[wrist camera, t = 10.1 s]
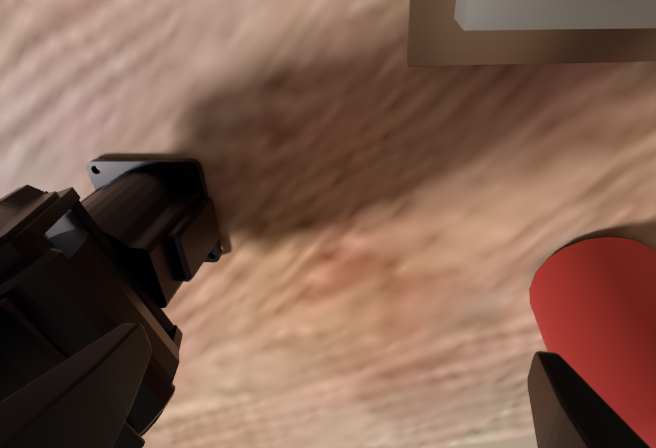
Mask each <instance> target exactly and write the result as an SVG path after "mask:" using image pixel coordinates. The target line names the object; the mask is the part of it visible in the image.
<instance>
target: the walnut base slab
mask: <svg viewBox="0 0 656 448" xmlns="http://www.w3.org/2000/svg"><path fill="white" fill-rule="evenodd" d="M455 5H456V0H410V4H409V27H408V50H407V61H408V67H414V66H458V65H503V64H547V63H592V62H636V61H656V28H630V29H549V30H468V31H464V30H463V29H462V28H461V26H460V25H459V24H458V23H457V21H456V20H455V19H454V14H455Z"/></svg>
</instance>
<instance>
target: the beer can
mask: <svg viewBox="0 0 656 448" xmlns="http://www.w3.org/2000/svg"><path fill="white" fill-rule="evenodd" d="M529 290H530V304H531V307H532V310H533V313H534V315H535V318H536V321H537V323H538V326H539V329H540V332H541V334H542V337H543V340H544V343H545V345H546V348H547V351H548V352H555V353H557V354H559V355H560V356H561V357H562V358H563V359H564V360H565V361H566V362H567V363H568V364H569V365H570V366H571V367H572V368H573V369H574V370H575V371H576V372H577V373H578V374H579V375H580V376H581V377H582V378H583V379H584V380H585V381H586V382H587V383H588V384H589V385H590V386H591V387H592V388H593V389H594V390H595V391H596V392H597V394H598V395H599V396H600V397H601V398H602V399H603V400H604V401H605V402H606V403H607V404H608V405H609V406H610V407H611V408H612V409H613V410H614V411H615V412H616V413H617V414H618V415H619V416H620V417H621V418H622V419H623V420H624V421H625V422H626V423H627V424H628V425H629V426H630V427H631V428H632V429H633V430H634V431H635V432H636V433H637V434H638V435H639V436H640V437H641V438H642V439H643V440H644V441H645V442H646V443H647V444H648V445H649V446H650V448H656V251H655V250H654V249H653V248H651V247H649V246H646V245H644V244H641V243H639V242H637V241H634V240H631V239H624V238H615V237H603V238H595V239H587V240H584V241H581V242H578V243H575V244H572V245H570V246H567V247H565V248H563V249H562V250H560V251H559V252H557V253H555V254H554V255H552V256H551V257H549V258H548V259H547V260H546V261H545V262H544V263H543V265H542V266H541V267H540V268H539V269H538V270H537V271H536V273H535V276H534V278H533V281H532V283H531V286H530V289H529Z"/></svg>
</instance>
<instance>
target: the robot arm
mask: <svg viewBox="0 0 656 448" xmlns="http://www.w3.org/2000/svg"><path fill="white" fill-rule="evenodd" d="M96 166H97V167H98V168H99V169H100V171H99V170H98V169H97V168H96ZM188 166H191V167H192V168H193V169H194V172H193V171H191V170H189V168H188ZM87 170H88V173H89V175H90V178H91V180H92V183H93V185H94V188H95V190H96V191H94V192H93V193H92V194H90V195H89V196H88V197H86V198H85V199H84V200H82V201H81V202H80V201H79V199H80V196H79V195H78V194H77V192H76V191H75V190H74V188H73V187H70V188H68V189H65V190H62V191H60V192H56V191H54V192H51V193H48V192H47V191H45V192H44V191H41V190H39V189H36V188H34V187H32V186H29V185H26V186H23V187H21V188H18V189H16V190H15V191H13V192H11V193H10V194H8V195H6V196H5V197H3V198H1V199H0V448H142V447H143V446H144V444H145V440H144V439H143V438H142V437H141V436H142V435H144V434H145V433H146V432H147V431H148V430H149V429H150V428H151V427H152V425H153V424H154V423H155V422H156V421H157V419H158V418H159V417H160V415H161V414H162V412H163V410H164V409H165V407H166V406H167V404H168V402H169V401H170V399H171V398H172V396H173V394H174V391H175V386H174V385H173V379H174V376H175V373H176V370H177V367H178V364H179V349H180V344H181V339H182V332H181V331H180V329H179V328H178V327H177V326H176V325H173V324H172V322H171V321H170V320H169V318H168V317H167V316H166V314H165V313H164V312H163V311H162V309H161V308H165V307H166V306H167V305H168V303H169V302H170V300H171V299H172V298H173V296H174V295H175V293H176V292H177V290H178V289H179V287H180V286H181V284H182V283H183V281H185V282H189V281H190V280H191V279H192V278H193V277H194V276H195V274H196V273H197V271H198V269H199V268H200V266H201V265H202V263H203V262H217V261H218V260H219V259H220V257H221V255H222V250H221V246H220V242H219V238H220V231H219V227H218V223H217V219H216V214H215V210H214V206H213V202H212V199H211V198H210V197H209V196H208V192H207V188H206V183H205V179H204V175H203V171H202V167H201V165H200V163H199V162H198V161H196V160H195V159H94V160H92V161H91V162H89V163H88V164H87ZM211 252H213V253H214V254H215V255H213V254H211ZM528 391H529V397H530V403H531V409H532V415H533V421H534V427H535V433H536V439H537V445H538V448H650V446H649V445H648V444H647V443H646V442H645V441H644V440H643V439H642V438H641V437H640V436H639V435H638V434H637V433H636V432H635V431H634V430H633V429H632V428H631V427H630V426H629V425H628V424H627V423H626V422H625V421H624V420H623V419H622V418H621V417H620V416H619V415H618V414H617V413H616V412H615V411H614V410H613V409H612V408H611V407H610V406H609V405H608V404H607V403H606V402H605V401H604V400H603V399H602V398H601V397H600V396H599V395H598V394H597V392H596V391H595V390H594V389H593V388H592V387H591V386H590V385H589V384H588V383H587V382H586V381H585V380H584V379H583V378H582V377H581V376H580V375H579V374H578V373H577V372H576V371H575V370H574V369H573V368H572V367H571V366H570V365H569V364H568V363H567V362H566V361H565V360H564V359H563V358H562V357H561V356H560V355H559V354H557V353H555V352H543V351H538V352H536V353H535V354H534V357H533V360H532V364H531V368H530V371H529V375H528Z"/></svg>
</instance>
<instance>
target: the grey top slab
mask: <svg viewBox="0 0 656 448" xmlns="http://www.w3.org/2000/svg"><path fill="white" fill-rule="evenodd" d="M454 19H455V20H456V21H457V23H458V24H459V25H460V26H461V28H462V29H463V30H464V31H468V30H549V29H630V28H656V0H456V5H455V14H454Z"/></svg>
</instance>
